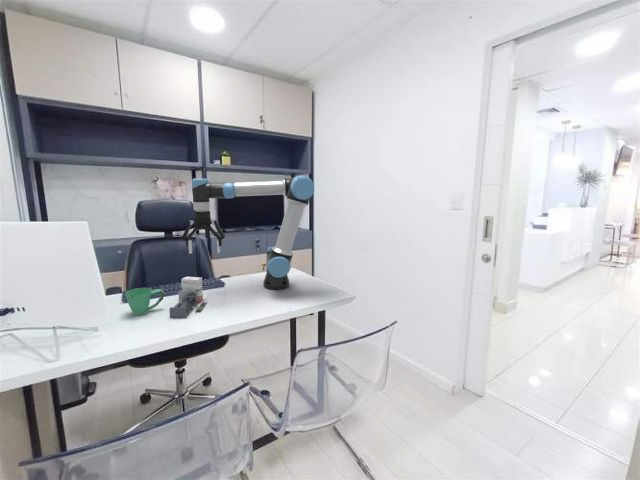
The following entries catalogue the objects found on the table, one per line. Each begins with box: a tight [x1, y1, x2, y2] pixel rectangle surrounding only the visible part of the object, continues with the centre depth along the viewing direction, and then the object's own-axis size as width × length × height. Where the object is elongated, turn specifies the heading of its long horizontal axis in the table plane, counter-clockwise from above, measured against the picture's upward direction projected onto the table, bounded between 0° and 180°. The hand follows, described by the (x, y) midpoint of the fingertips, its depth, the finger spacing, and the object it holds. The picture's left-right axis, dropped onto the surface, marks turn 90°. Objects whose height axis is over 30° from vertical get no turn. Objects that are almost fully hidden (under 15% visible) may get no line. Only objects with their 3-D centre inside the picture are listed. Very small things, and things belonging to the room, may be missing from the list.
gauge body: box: [169, 301, 208, 319], centre depth 136 cm, size 11×17×4 cm
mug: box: [125, 287, 165, 316], centre depth 132 cm, size 15×10×10 cm
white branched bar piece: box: [177, 290, 203, 307], centre depth 137 cm, size 11×8×7 cm
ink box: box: [180, 276, 204, 304], centre depth 146 cm, size 9×5×12 cm, turn 85°
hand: (204, 252), depth 149 cm, fingers open, 13 cm apart
